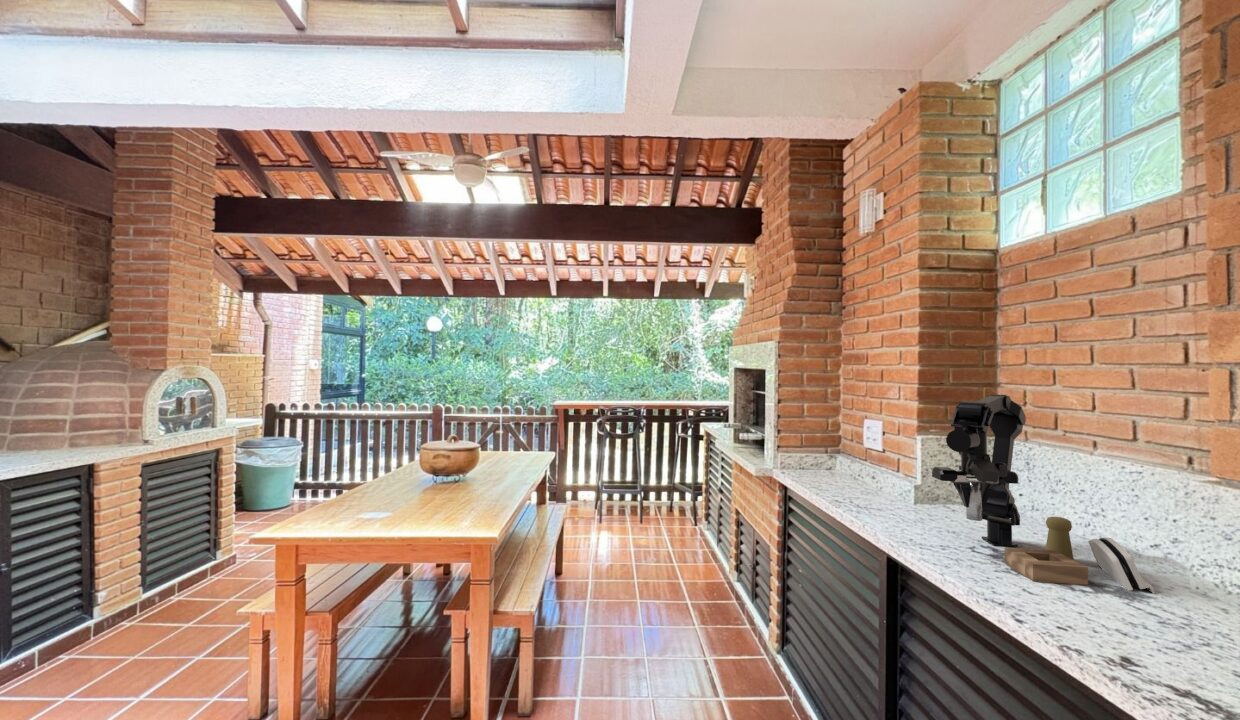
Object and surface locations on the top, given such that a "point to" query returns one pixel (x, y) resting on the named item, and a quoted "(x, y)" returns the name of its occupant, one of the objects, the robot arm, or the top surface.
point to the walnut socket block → (1046, 566)
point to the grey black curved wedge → (1118, 563)
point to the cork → (1059, 536)
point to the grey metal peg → (974, 500)
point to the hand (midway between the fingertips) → (974, 507)
